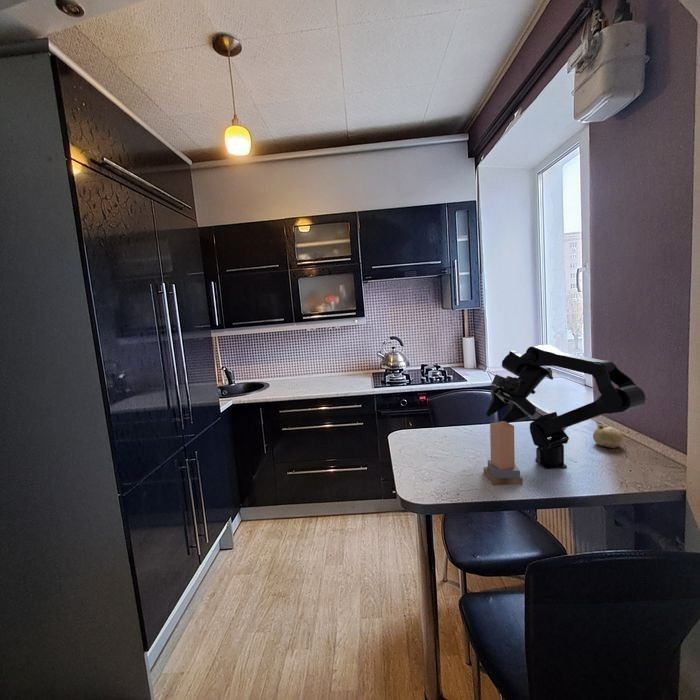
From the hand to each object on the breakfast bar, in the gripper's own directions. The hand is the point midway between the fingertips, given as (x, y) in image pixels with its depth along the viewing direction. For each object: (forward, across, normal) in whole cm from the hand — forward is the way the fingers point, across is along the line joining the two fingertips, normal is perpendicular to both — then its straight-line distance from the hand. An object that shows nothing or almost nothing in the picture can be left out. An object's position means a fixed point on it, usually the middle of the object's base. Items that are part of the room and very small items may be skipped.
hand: (493, 419), depth 114 cm
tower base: (+12, +10, +8) cm, 18 cm away
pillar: (+9, +11, +5) cm, 15 cm away
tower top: (+10, +11, +7) cm, 16 cm away
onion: (-18, -4, +38) cm, 42 cm away
